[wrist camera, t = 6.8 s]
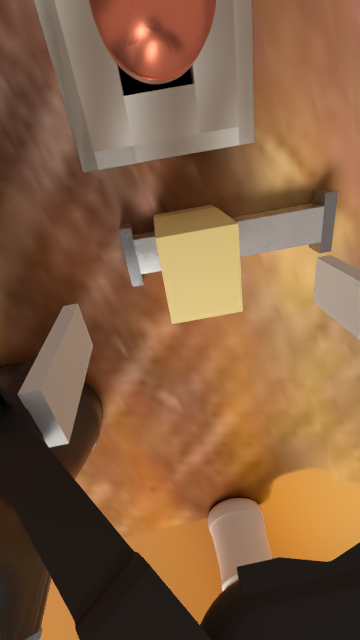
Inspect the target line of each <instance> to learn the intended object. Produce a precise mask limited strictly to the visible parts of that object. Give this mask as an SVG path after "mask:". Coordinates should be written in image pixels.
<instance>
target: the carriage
mask: <svg viewBox="0 0 360 640" xmlns="http://www.w3.org/2000/svg"><path fill="white" fill-rule="evenodd" d="M154 228H155V239H156V244H157V249H158V254H159V260H160V265H161V270H162V275H163V280H164V285H165V290H166V296H167V301H168V306H169V311H170V316H171V321H172V324H175V323H181V322H186V321H192V320H197V319H203V318H208V317H214V316H219V315H225V314H231V313H236V312H242V311H243V309H242V289H241V268H240V248H239V228H238V223H237V222H236V221H234V220H233V219H232V218H230V217H229V216H228V215H226V214H225V213H224V212H222V211H221V210H220V209H218V208H217V207H214V206H213V205H206V206H201V207H195V208H189V209H184V210H178V211H173V212H167V213H161V214H156V215H154Z"/></svg>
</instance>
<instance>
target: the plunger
mask: <svg viewBox="0 0 360 640" xmlns="http://www.w3.org/2000/svg"><path fill="white" fill-rule="evenodd" d="M89 3H90V7H91V11H92V15H93V18H94V21H95V23H96V26H97V29H98V31H99V34H100V36H101V39H102V41H103V43H104V45H105V47H106V49H107V51H108V53H109V54H110V56H111V57H112V59H113V60H114V61H115V62H116V64H117V65H118V66H119V67H120V68H121V69H122V70H123V71H124V72H126V73H127V74H128V75H129V76H131V77H133V78H135V79H136V80H139V81H141V82H144V83H149V84H164V83H167V82H171V81H173V80H175V79H177V78H179V77H180V76H182V75H183V74H184V73H185V72H186V71H187V70H188V69H189V68H190V67H191V66H192V65H193V64H194V62H195V61H196V59H197V58H198V56H199V54H200V52H201V50H202V48H203V46H204V44H205V42H206V40H207V38H208V35H209V33H210V30H211V27H212V23H213V19H214V14H215V8H216V0H89Z"/></svg>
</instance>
